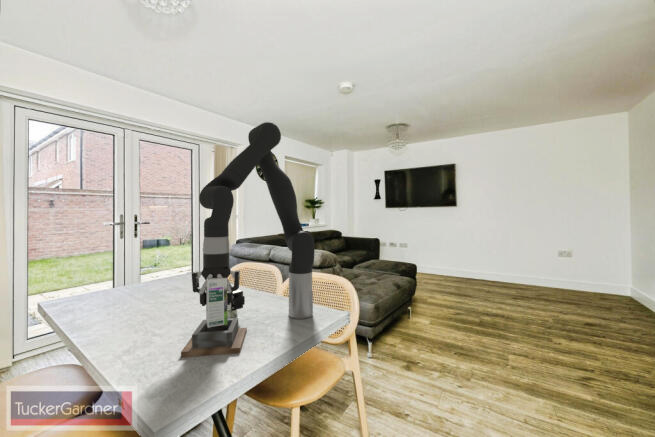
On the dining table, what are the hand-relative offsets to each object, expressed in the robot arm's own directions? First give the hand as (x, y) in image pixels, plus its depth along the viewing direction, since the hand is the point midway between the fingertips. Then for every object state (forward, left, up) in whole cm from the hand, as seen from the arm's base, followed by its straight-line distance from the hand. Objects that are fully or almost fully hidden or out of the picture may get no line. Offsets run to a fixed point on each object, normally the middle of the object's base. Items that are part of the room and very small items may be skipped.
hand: (216, 304), depth 85 cm
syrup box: (0, 0, -6) cm, 6 cm away
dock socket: (0, 0, -12) cm, 12 cm away
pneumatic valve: (-1, -20, -12) cm, 23 cm away
